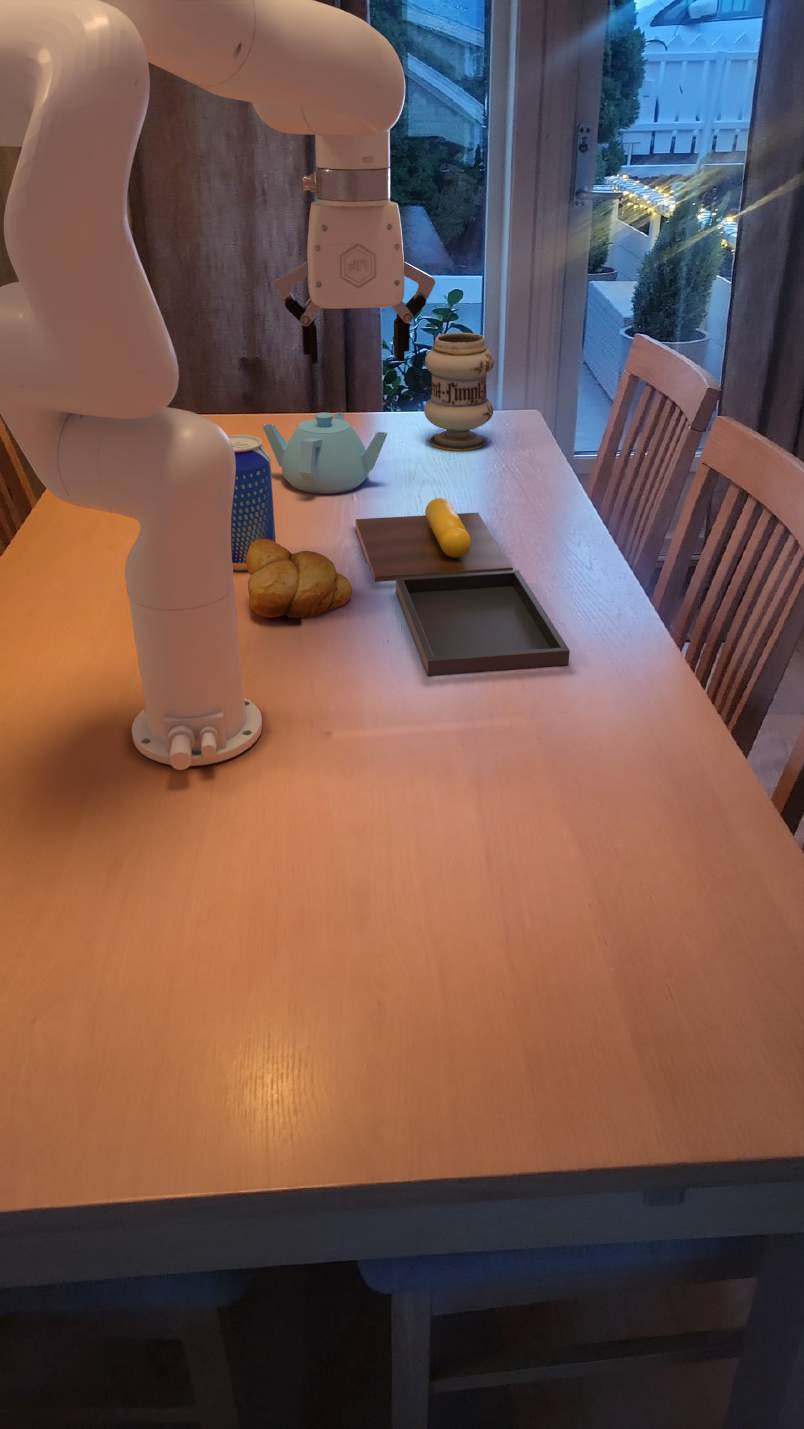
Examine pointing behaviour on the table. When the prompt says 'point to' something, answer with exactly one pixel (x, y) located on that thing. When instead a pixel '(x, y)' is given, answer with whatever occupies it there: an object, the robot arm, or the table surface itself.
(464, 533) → the yellow capsule pill
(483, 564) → the board
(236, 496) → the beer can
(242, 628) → the table surface
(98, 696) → the table surface
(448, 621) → the tray
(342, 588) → the bread roll
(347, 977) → the table surface
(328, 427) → the teapot
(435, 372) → the apothecary jar
